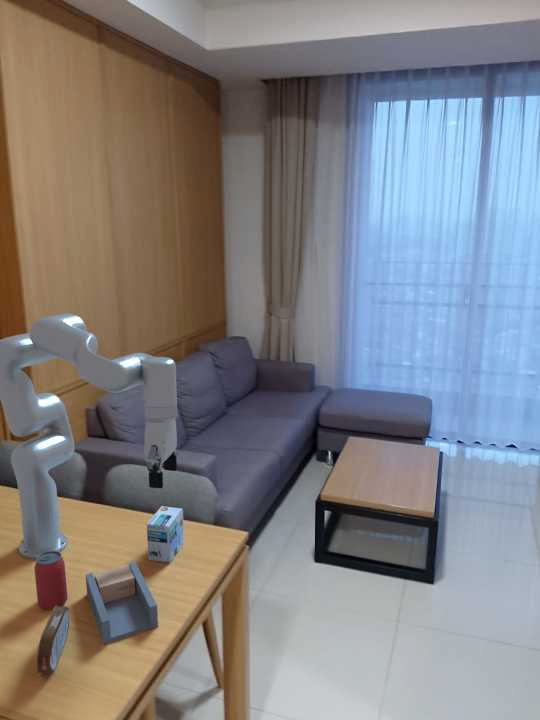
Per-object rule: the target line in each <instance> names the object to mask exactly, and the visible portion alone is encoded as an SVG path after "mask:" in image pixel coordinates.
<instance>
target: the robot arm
mask: <svg viewBox="0 0 540 720" xmlns="http://www.w3.org/2000/svg"><path fill="white" fill-rule="evenodd" d="M98 343H99V342H98V339H97V337H96V336H95V335H94V334H93V333H91V332H89V331H87V326H86V324H85V322H84V320H83V319H82V318H81V317H79V316H78V315H76V314H73V313H61V314H55V315H50V316H45V317H42V318H39V319H38V320H36V321H35V322H33V323H32V325H31V326H30V328H29V332H26V333H21V334H17V335H12V336H8V337H4V338H1V339H0V403H1V406H2V410H3V412H4V413H3V415H4V416H5V417H4V418H5V420H6V423H7V427H8V429H9V431H10V433H11V434H12V435H14V436H15V437H19V438H20V437H21V438H22V437H26V436H30V435H33V434H36V433H38V432H40V431H43V434H40V435H38V436H35V437H32V438H30V439H28V440H25V441H23V442H22V443H20V444H19V445H17V446H16V447H15V448H14V449H13V451H12V453H11V455H10V456H11V457H10V463H11V467H12V469H13V473H14V475H15V478H16V484H17V488H18V490H17V491H18V498H19V506H20V508H19V509H20V516H21V524H22V525H21V526H22V537H23V540H22V541H21V542H20V543H19V544H18V553H19V555H20V556H22V557H24V558H27V559H35V560H36V558H37V557H38V556H39V555H41V554H42V553H45V552H48V551H57V552H59V553H60V552H61V551H62V550H63V549H64V548H65V547H66V546H67V543H68V538H67V536H66V534H64V533H63V532H61V526H60V514H59V504H58V503H59V501H58V493H57V492H58V491H57V485H56V482H55V480H54V478H52V476H50V474H49V470H51V469H53V468H54V467H57V466H58V465H60V464H63V463H64V462H66V461H68V460H69V459H71V458H72V456H73V454H74V453H75V440H74V435H73V432H72V428H71V424H70V421H69V417H68V411H67V410H66V407H65V404H64V402H63V401H62V399H60V397H59V396H58V395H56V394H55V393H53V392H42V393H39V394H37V393H36V392H35V388H34V383H33V381H32V380H31V378H30V377H29V375H28V374H26V373H25V371H23V370H22V369H23V368H26V367H30V366H34V365H39V364H43V363H45V362H49V361H51V360H54V359H56V358H59V359H62V360H64V361H66V362H68V363H70V364H72V365H74V367H75V370H76V371H77V373H78V375H79V377H81V379H82V380H84V381H85V382H86V383H88V384H90V385H91V386H93V387H96V388H97V389H100V390H102V391H105V392H108V393H113V394H115V393H118V394H119V393H123V392H124V391H129V390H130V389H132V388H135V387H138V386H143V387H142V388H143V409H144V419H145V426H144V444H143V445H144V446H143V450H144V460H145V462H146V463H145V464H146V468H147V473H148V486H149V488H151V489H163V488H164V472H163V471H162V467H163V470H164V471H170V472H171V471H172V472H176V471H177V469H178V465H177V463H178V462H177V461H178V459H177V451H178V450H177V446H178V443H177V442H178V437H177V435H178V433H177V421H176V418H178V400H177V399H178V396H177V395H178V394H177V367H176V361H174V359H172V358H171V357H165V356H164V357H163V356H154V355H150V354H147V353H144V352H134V353H131V354H127V355H124V356H120V357H117V358H115V359H109V358H106V357H104V356H102V355H99V354H97V352H98V349H99V348H98V346H99V344H98ZM155 463H157V464H158V465H157V464H155Z"/></svg>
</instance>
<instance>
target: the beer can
mask: <svg viewBox="0 0 540 720" xmlns="http://www.w3.org/2000/svg"><path fill="white" fill-rule="evenodd" d="M65 565H66V564H65V560H64V558H63V556H62V553H61V552H60V551H59V552H57V551H48V552H45V553H42V554H41V555H39V556H38V557H37V558H36V559H35V565H34V576H35V577H34V579H35V587H36V597H37V605H38V606H39V608H41V609H42V610H44V611H45V610H46V611H50V610H51V611H53V609H54V607H55V606H63V605H65V603H66V602H67V600H68V588H67V575H66V566H65Z"/></svg>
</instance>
